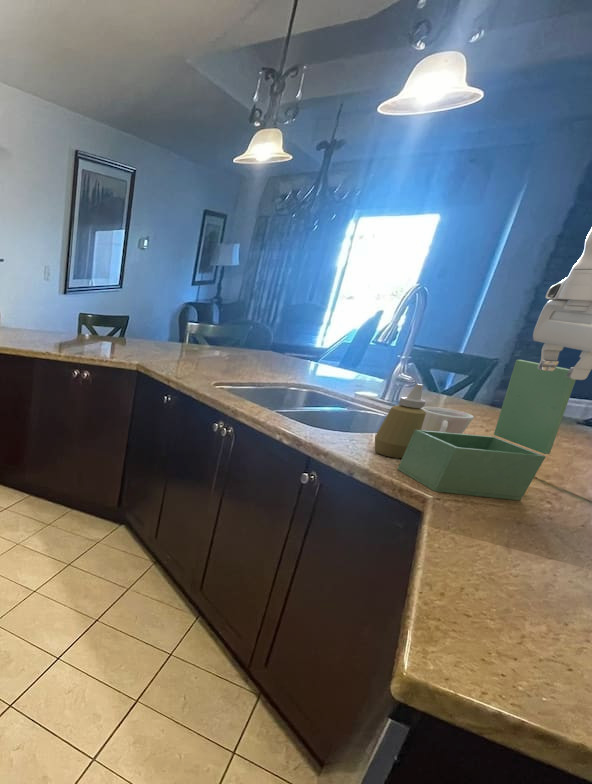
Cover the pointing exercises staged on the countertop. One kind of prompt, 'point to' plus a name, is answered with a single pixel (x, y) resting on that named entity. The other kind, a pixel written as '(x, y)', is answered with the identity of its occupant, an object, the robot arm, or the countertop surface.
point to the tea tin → (470, 464)
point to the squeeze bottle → (401, 424)
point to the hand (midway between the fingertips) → (559, 374)
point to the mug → (445, 420)
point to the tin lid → (534, 406)
